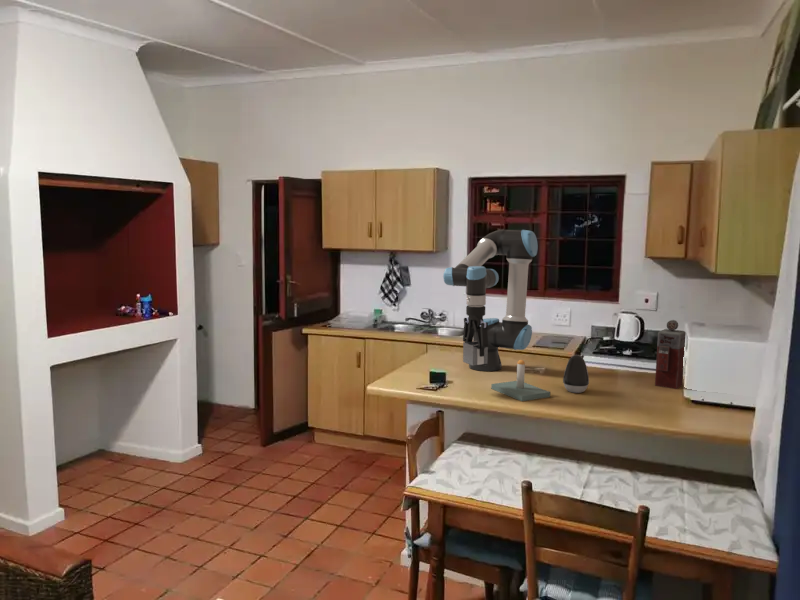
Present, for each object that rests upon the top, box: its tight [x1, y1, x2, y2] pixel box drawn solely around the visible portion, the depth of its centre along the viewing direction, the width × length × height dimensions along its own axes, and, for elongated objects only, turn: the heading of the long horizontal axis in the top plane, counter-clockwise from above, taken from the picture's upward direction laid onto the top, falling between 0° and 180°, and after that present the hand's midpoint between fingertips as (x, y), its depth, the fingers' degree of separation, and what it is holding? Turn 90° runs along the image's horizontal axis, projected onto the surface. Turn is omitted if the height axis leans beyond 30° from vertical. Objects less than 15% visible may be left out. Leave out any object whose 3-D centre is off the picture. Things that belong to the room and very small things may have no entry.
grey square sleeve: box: [462, 340, 488, 366], centre depth 258 cm, size 7×7×8 cm
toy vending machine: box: [654, 319, 687, 390], centre depth 272 cm, size 9×11×28 cm
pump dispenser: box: [562, 354, 590, 394], centre depth 262 cm, size 10×10×15 cm
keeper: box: [490, 359, 551, 402], centre depth 259 cm, size 20×14×14 cm
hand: (474, 361), depth 258 cm, fingers closed on grey square sleeve, 7 cm apart
